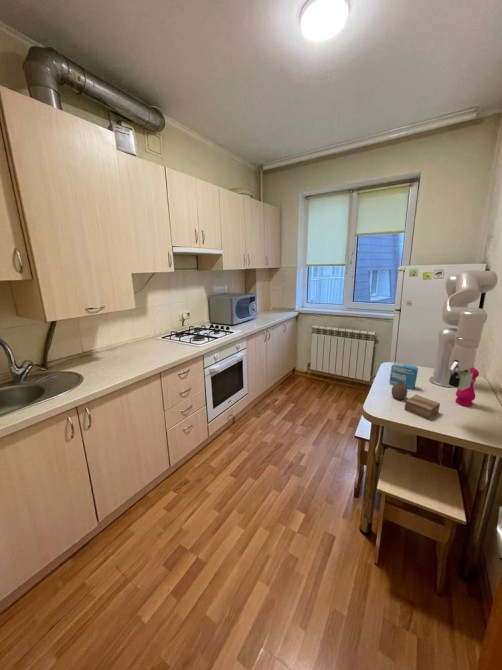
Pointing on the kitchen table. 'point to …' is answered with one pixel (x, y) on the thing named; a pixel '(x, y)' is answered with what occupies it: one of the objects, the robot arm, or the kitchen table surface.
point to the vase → (399, 390)
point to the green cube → (461, 380)
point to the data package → (403, 374)
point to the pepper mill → (467, 391)
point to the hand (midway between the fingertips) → (457, 383)
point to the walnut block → (422, 407)
